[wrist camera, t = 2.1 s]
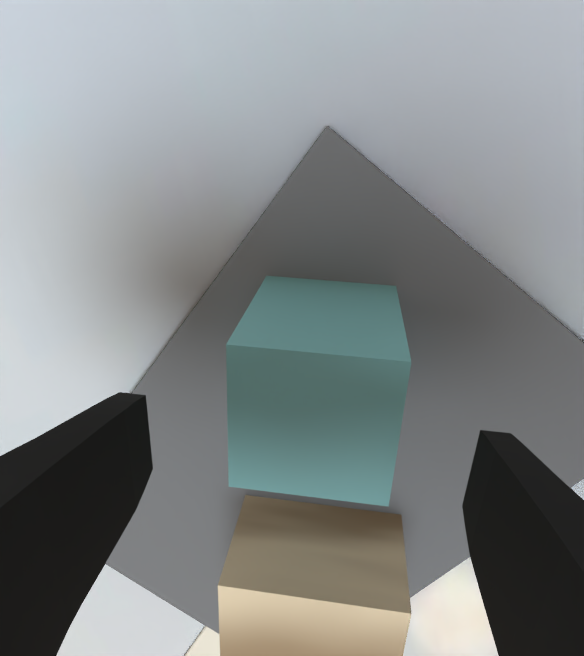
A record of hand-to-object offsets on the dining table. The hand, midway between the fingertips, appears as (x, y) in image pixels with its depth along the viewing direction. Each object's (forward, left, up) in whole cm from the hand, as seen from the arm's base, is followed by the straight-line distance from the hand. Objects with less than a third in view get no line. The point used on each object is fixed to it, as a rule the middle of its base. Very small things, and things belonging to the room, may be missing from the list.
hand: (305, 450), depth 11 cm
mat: (+5, +3, -6) cm, 8 cm away
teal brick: (0, 0, -6) cm, 6 cm away
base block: (+8, +6, -6) cm, 12 cm away
